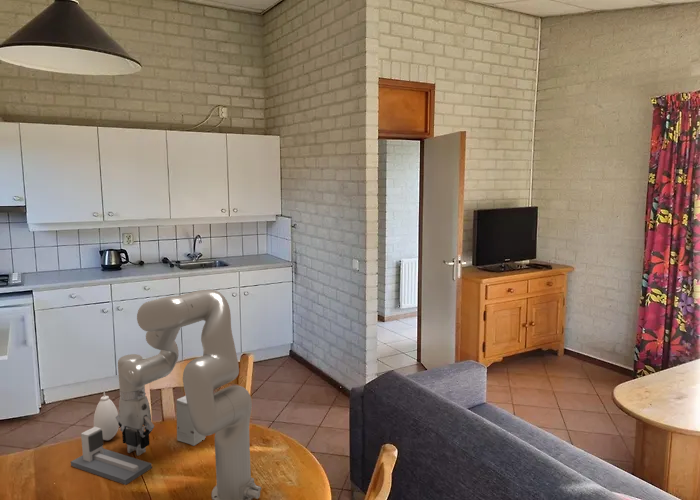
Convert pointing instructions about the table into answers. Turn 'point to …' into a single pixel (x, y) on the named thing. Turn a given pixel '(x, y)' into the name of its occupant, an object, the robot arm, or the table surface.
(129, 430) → the left finger
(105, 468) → the rail base
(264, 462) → the table surface
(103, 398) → the sauce bottle
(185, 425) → the skincare box
